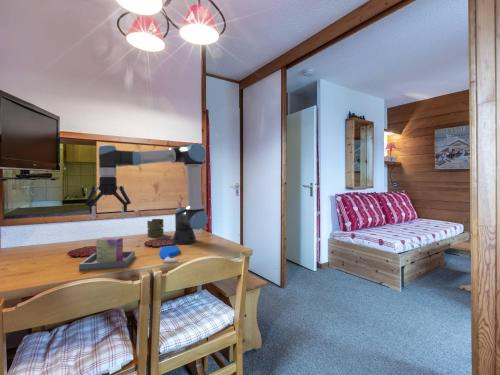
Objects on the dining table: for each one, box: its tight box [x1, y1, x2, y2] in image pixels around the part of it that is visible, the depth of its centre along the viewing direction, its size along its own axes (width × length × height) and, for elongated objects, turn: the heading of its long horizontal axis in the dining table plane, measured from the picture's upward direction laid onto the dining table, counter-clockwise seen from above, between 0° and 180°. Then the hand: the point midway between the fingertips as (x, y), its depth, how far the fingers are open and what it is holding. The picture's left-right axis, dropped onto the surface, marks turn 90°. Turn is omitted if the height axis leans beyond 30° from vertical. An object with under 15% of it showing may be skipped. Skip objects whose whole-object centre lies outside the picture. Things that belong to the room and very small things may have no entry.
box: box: [96, 236, 124, 262], centre depth 127 cm, size 10×6×12 cm, turn 85°
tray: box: [78, 250, 136, 272], centre depth 127 cm, size 20×18×3 cm
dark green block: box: [146, 218, 165, 239], centre depth 190 cm, size 11×12×11 cm
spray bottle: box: [159, 245, 180, 264], centre depth 139 cm, size 3×11×24 cm
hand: (108, 218), depth 127 cm, fingers open, 13 cm apart
